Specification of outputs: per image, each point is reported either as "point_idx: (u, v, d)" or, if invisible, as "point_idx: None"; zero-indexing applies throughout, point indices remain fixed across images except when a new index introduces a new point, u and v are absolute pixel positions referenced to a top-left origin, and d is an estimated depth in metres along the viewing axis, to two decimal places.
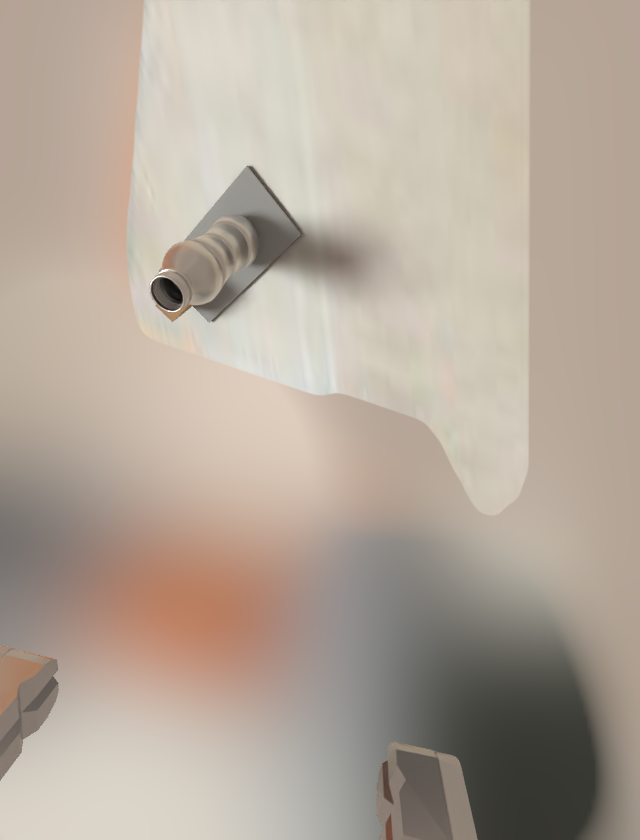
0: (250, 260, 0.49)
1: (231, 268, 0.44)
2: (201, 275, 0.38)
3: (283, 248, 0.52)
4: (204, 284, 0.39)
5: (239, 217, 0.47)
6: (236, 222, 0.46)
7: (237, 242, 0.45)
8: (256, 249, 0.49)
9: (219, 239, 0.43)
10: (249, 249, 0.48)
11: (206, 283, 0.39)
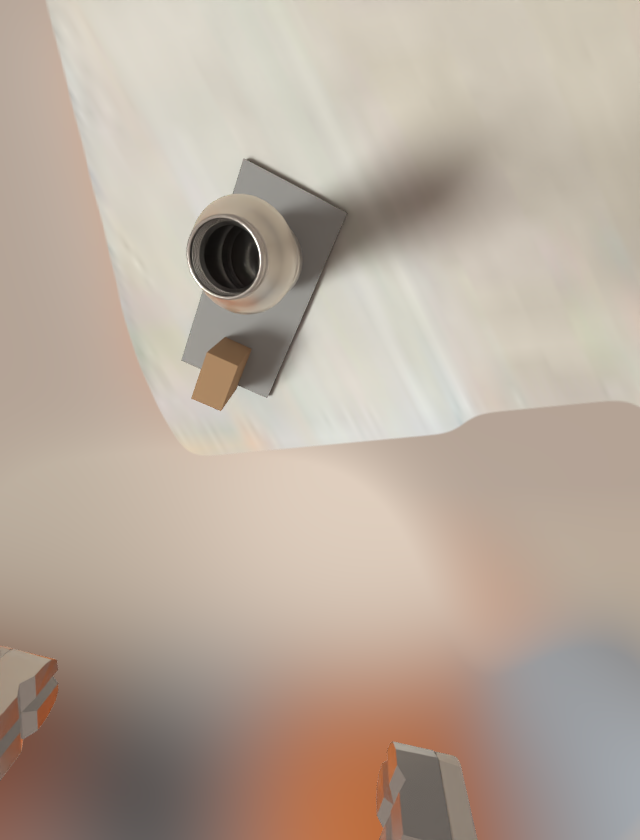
0: (299, 264, 0.33)
1: None
2: (266, 224, 0.20)
3: (329, 245, 0.36)
4: (276, 241, 0.20)
5: None
6: None
7: None
8: (300, 249, 0.33)
9: None
10: (295, 244, 0.31)
11: (277, 240, 0.21)
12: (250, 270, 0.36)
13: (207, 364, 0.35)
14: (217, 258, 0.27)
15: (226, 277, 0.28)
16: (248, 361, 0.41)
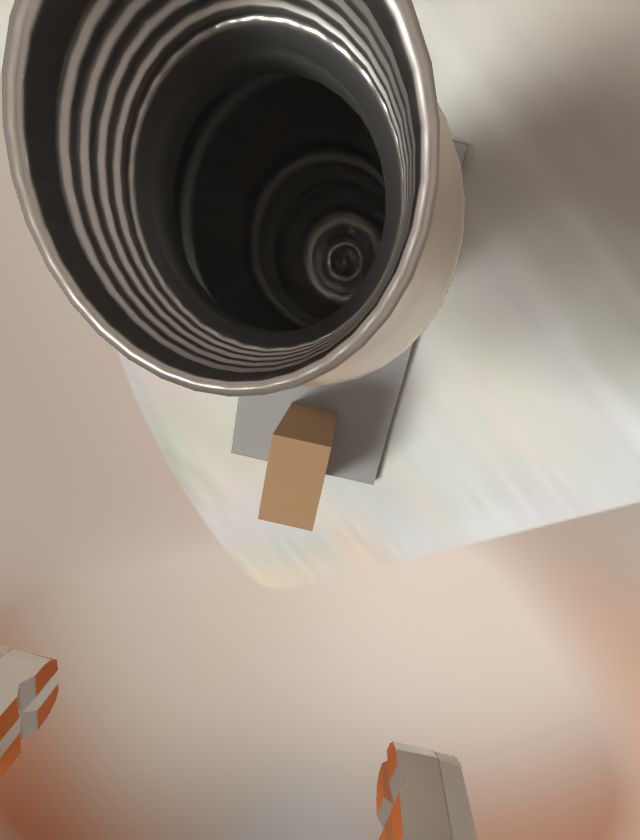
0: None
1: None
2: None
3: None
4: None
5: None
6: None
7: None
8: None
9: None
10: None
11: None
12: (318, 286, 0.22)
13: (277, 455, 0.19)
14: (253, 270, 0.13)
15: (279, 304, 0.13)
16: (334, 433, 0.25)
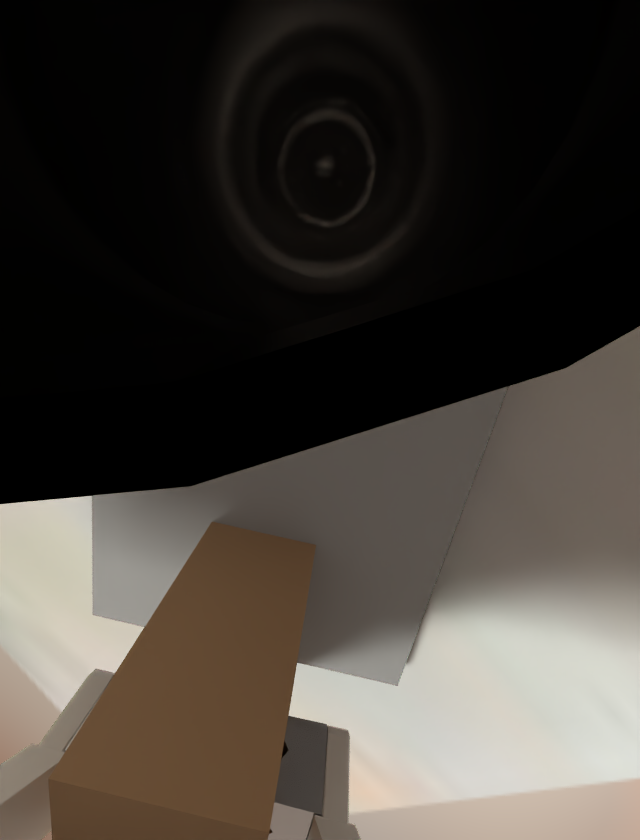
0: None
1: None
2: None
3: None
4: None
5: None
6: None
7: None
8: None
9: None
10: None
11: None
12: (254, 242, 0.08)
13: (78, 832, 0.05)
14: None
15: None
16: (311, 586, 0.11)
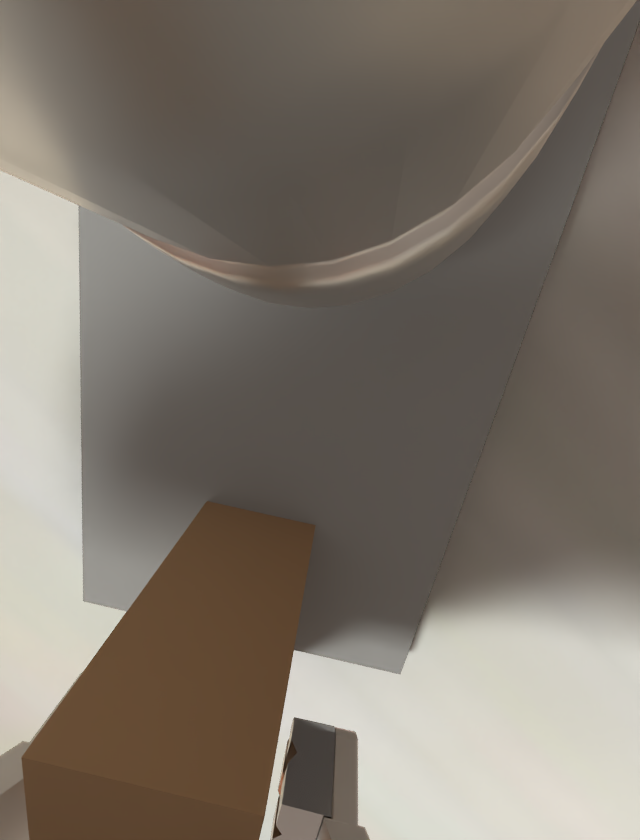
0: None
1: None
2: None
3: None
4: None
5: None
6: None
7: None
8: None
9: None
10: None
11: None
12: None
13: (55, 817, 0.05)
14: None
15: None
16: (311, 569, 0.11)
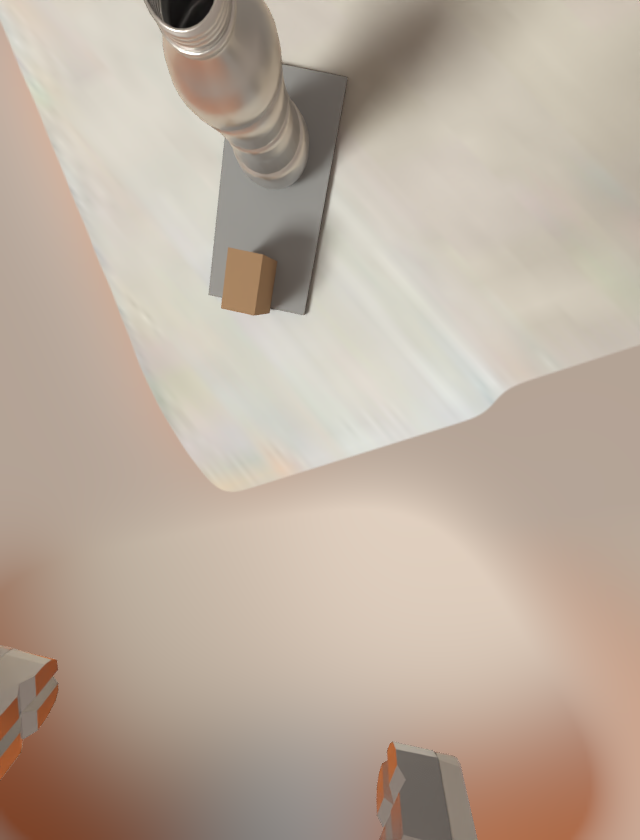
0: (304, 129, 0.30)
1: None
2: None
3: (335, 118, 0.33)
4: None
5: None
6: None
7: None
8: None
9: None
10: (294, 104, 0.29)
11: None
12: None
13: (231, 261, 0.32)
14: None
15: None
16: (276, 276, 0.38)
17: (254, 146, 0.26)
